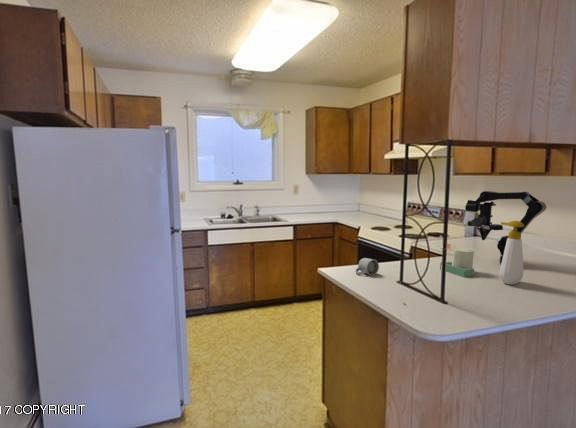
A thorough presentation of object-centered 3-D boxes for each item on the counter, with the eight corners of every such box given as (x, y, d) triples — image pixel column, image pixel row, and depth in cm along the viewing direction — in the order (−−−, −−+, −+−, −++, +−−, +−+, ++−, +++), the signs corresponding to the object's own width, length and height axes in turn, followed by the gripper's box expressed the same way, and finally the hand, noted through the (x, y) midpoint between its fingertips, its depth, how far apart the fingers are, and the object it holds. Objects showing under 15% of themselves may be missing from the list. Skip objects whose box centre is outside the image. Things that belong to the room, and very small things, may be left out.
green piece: (449, 268, 187) (451, 241, 186) (473, 275, 174) (475, 246, 172) (439, 269, 185) (441, 242, 183) (463, 277, 171) (465, 247, 170)
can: (472, 275, 175) (473, 251, 173) (451, 272, 179) (453, 249, 178) (473, 270, 183) (474, 248, 181) (453, 268, 187) (454, 246, 186)
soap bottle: (503, 277, 171) (509, 218, 168) (527, 283, 163) (533, 220, 159) (489, 281, 165) (494, 219, 161) (513, 288, 156) (518, 222, 152)
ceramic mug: (368, 270, 182) (368, 255, 181) (379, 274, 175) (379, 259, 174) (351, 272, 178) (351, 258, 177) (362, 277, 170) (362, 261, 169)
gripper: (461, 211, 206) (459, 238, 208) (490, 215, 189) (487, 244, 191) (475, 211, 210) (473, 236, 212) (504, 214, 193) (502, 242, 195)
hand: (483, 240), depth 203 cm, fingers closed
